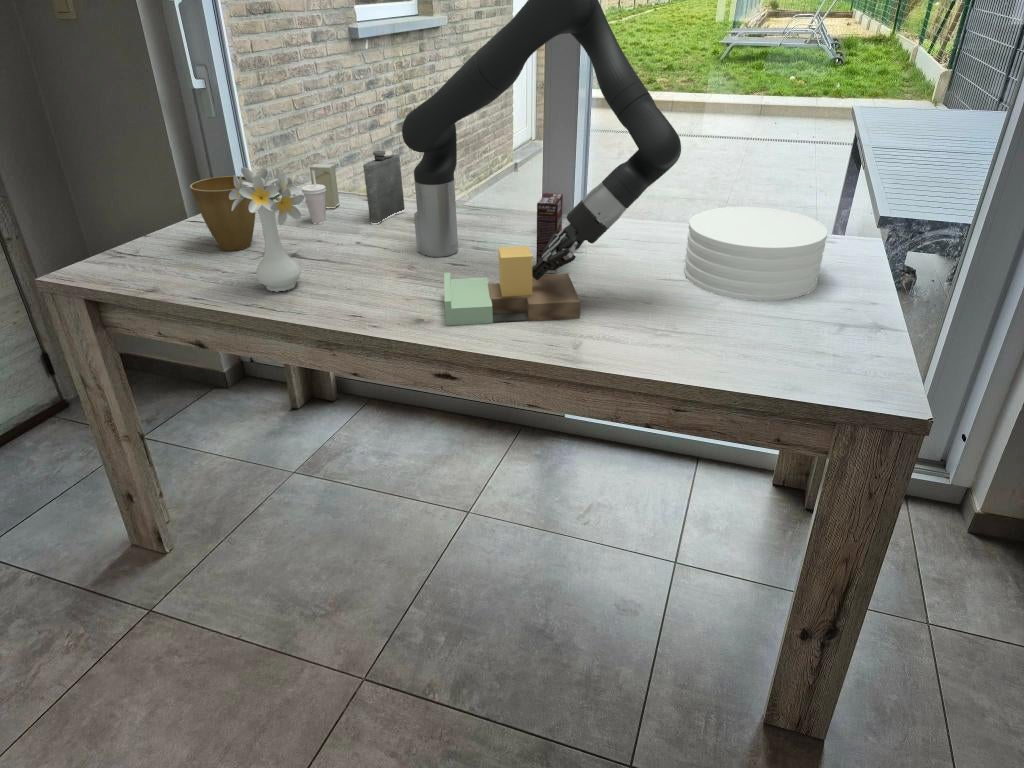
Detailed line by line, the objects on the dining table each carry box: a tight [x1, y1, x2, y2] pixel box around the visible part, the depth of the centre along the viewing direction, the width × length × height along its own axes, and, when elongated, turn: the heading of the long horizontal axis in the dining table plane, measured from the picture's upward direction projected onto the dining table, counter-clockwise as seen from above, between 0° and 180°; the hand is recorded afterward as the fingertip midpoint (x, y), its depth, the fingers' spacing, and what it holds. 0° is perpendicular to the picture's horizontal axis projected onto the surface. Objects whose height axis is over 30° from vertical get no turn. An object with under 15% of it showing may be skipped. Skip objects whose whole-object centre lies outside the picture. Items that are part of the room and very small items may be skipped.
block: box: [498, 245, 533, 297], centre depth 139 cm, size 6×6×8 cm
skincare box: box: [309, 163, 340, 207], centre depth 204 cm, size 6×4×12 cm
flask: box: [362, 150, 405, 223], centre depth 193 cm, size 4×14×18 cm, turn 153°
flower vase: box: [229, 167, 305, 293], centre depth 147 cm, size 13×18×25 cm
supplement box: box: [535, 192, 564, 274], centre depth 157 cm, size 9×5×16 cm, turn 168°
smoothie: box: [301, 171, 327, 224], centre depth 191 cm, size 6×6×14 cm
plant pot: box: [189, 175, 256, 252], centre depth 174 cm, size 15×15×16 cm
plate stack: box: [683, 206, 828, 301], centre depth 152 cm, size 28×28×12 cm
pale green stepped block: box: [443, 272, 494, 326], centre depth 141 cm, size 9×15×5 cm, turn 5°
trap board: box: [488, 272, 581, 324], centre depth 142 cm, size 17×15×4 cm
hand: (533, 276), depth 140 cm, fingers closed
